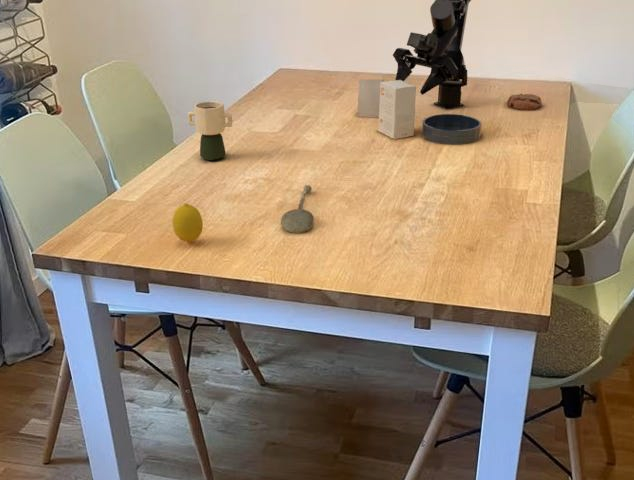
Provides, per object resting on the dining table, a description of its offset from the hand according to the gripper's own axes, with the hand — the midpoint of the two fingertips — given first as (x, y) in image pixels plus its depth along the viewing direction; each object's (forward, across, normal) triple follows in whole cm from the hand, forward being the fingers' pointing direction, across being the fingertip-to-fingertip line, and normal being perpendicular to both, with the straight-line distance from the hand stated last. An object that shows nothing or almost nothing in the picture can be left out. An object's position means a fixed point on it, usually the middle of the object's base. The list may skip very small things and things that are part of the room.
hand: (408, 90), depth 201 cm
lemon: (+66, +21, -50) cm, 86 cm away
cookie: (-23, +7, +38) cm, 45 cm away
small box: (+10, 0, +5) cm, 12 cm away
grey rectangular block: (+5, -17, +10) cm, 21 cm away
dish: (+4, +11, +12) cm, 16 cm away
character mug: (+44, -17, -28) cm, 55 cm away
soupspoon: (+48, +24, -32) cm, 62 cm away
